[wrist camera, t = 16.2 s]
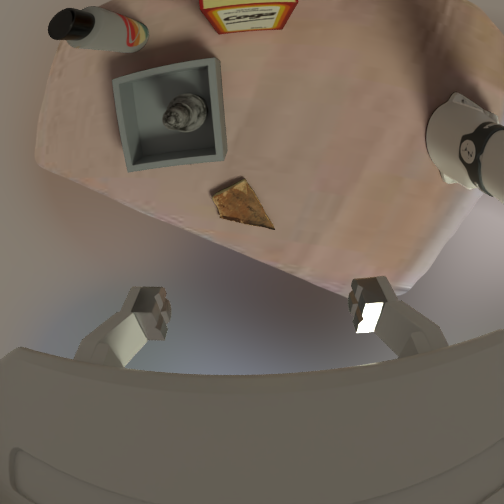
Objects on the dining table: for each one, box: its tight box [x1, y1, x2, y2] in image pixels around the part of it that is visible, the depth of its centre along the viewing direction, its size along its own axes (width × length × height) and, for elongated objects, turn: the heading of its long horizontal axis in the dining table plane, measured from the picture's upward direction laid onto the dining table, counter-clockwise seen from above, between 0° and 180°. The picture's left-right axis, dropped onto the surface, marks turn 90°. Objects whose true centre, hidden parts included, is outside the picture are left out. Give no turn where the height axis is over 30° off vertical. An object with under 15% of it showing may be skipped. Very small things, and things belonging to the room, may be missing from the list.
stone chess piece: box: [162, 93, 208, 132], centre depth 32 cm, size 6×6×12 cm
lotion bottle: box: [48, 6, 149, 53], centre depth 21 cm, size 6×6×20 cm
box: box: [112, 58, 228, 172], centre depth 35 cm, size 15×15×6 cm
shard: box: [212, 179, 275, 230], centre depth 48 cm, size 11×8×2 cm
